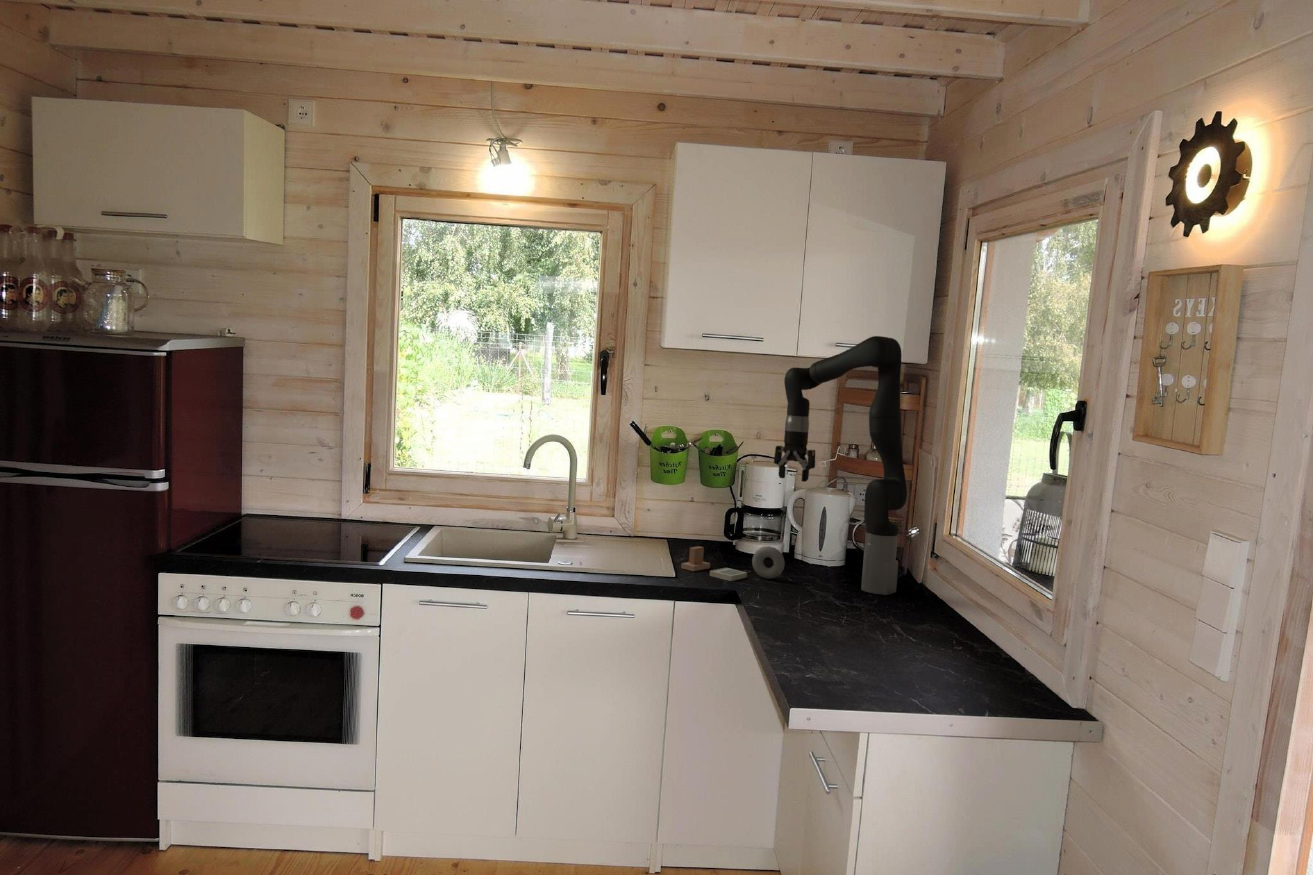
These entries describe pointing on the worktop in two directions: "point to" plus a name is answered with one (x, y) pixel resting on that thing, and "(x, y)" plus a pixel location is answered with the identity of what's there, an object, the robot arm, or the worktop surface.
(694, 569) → the stub
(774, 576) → the donut
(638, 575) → the worktop surface
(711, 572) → the control panel
